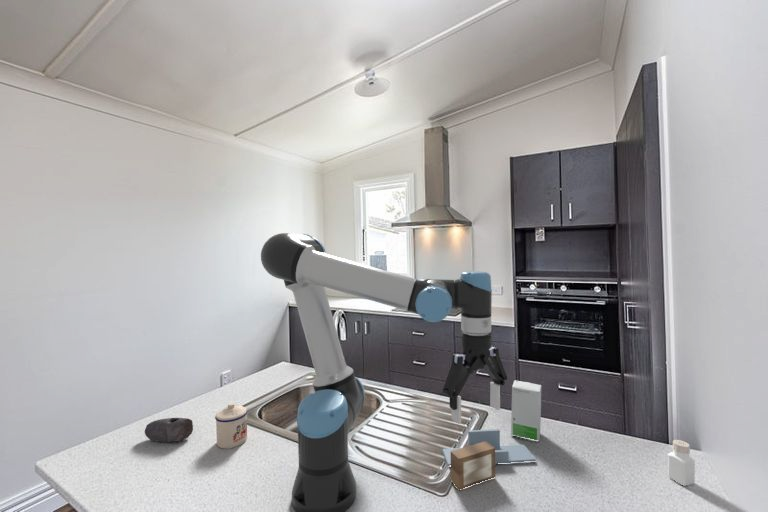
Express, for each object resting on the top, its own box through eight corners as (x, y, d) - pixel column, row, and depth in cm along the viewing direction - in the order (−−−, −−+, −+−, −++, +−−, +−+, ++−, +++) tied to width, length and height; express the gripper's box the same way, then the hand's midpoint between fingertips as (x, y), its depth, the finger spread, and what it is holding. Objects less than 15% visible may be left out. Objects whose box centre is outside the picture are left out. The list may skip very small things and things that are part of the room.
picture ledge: (448, 467, 94) (448, 445, 94) (442, 452, 101) (442, 431, 101) (535, 462, 95) (535, 441, 95) (524, 448, 102) (523, 427, 102)
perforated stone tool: (139, 443, 109) (138, 421, 108) (152, 434, 114) (151, 413, 114) (183, 446, 107) (183, 423, 106) (195, 437, 112) (194, 415, 112)
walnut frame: (459, 491, 85) (459, 459, 85) (450, 482, 88) (450, 451, 88) (495, 479, 89) (495, 448, 89) (486, 470, 93) (485, 440, 92)
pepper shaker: (684, 487, 85) (684, 449, 85) (666, 477, 89) (666, 440, 88) (695, 484, 86) (696, 446, 86) (678, 474, 90) (678, 437, 89)
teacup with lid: (237, 450, 104) (236, 411, 103) (209, 448, 105) (208, 410, 105) (257, 429, 116) (256, 394, 115) (232, 427, 117) (231, 393, 117)
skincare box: (510, 436, 109) (510, 386, 108) (513, 426, 114) (513, 379, 114) (540, 443, 105) (539, 391, 104) (541, 432, 111) (541, 383, 110)
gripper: (448, 342, 80) (448, 434, 81) (521, 328, 93) (521, 408, 93) (427, 335, 87) (428, 420, 87) (498, 323, 99) (499, 397, 100)
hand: (476, 414), depth 90 cm, fingers open, 13 cm apart
